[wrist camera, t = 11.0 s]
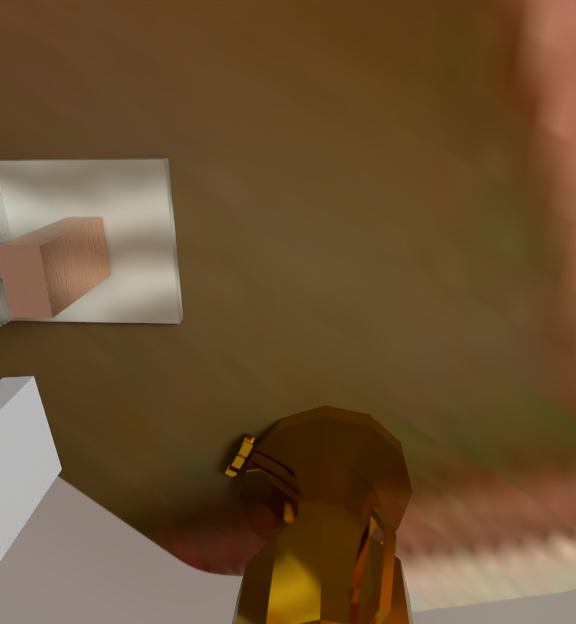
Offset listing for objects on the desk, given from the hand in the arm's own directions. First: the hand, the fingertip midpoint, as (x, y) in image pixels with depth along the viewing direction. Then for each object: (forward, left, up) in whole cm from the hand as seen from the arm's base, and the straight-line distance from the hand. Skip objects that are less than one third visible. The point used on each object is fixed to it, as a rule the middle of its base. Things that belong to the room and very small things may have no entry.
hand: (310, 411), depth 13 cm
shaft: (+4, -27, -31) cm, 42 cm away
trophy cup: (+28, -1, -33) cm, 43 cm away
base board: (+4, -24, -33) cm, 41 cm away
